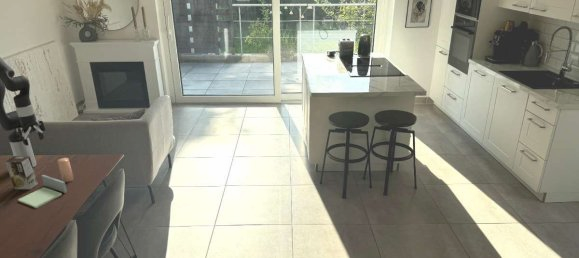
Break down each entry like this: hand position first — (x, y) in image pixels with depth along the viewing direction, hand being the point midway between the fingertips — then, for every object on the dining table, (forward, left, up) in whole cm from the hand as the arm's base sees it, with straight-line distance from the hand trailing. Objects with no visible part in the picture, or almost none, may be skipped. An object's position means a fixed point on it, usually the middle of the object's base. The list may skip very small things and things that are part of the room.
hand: (34, 142), depth 212 cm
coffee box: (+8, -14, -18) cm, 24 cm away
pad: (+26, -18, -18) cm, 36 cm away
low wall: (+24, -9, -18) cm, 31 cm away
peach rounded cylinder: (+22, 0, -18) cm, 28 cm away
